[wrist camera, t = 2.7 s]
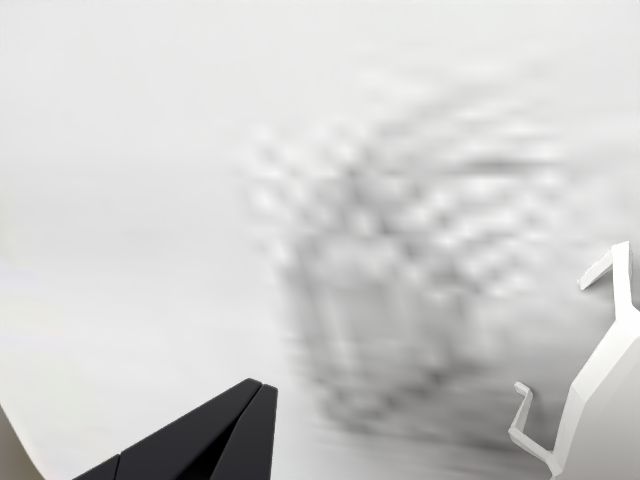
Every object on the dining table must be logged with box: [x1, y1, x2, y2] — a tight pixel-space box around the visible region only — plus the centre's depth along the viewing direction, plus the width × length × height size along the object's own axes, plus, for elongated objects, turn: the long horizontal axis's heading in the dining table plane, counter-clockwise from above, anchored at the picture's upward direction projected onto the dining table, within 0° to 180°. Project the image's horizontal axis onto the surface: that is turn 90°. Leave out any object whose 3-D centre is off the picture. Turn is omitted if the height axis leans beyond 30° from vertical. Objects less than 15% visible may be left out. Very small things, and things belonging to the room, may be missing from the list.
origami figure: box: [508, 241, 640, 480], centre depth 13 cm, size 12×8×5 cm
